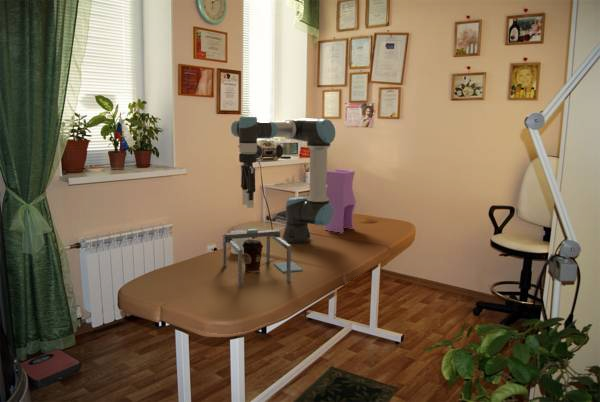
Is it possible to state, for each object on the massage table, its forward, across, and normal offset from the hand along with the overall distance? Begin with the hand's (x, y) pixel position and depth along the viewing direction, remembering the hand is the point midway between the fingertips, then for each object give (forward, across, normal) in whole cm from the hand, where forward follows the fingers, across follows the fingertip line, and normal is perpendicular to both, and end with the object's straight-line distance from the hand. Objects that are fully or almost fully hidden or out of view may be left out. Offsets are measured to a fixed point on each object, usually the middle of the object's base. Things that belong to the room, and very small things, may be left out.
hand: (247, 205), depth 209 cm
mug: (+27, -20, +3) cm, 34 cm away
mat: (+27, +8, +16) cm, 32 cm away
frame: (+27, +11, 0) cm, 29 cm away
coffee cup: (+27, +7, 0) cm, 28 cm away
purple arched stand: (+27, -50, +69) cm, 89 cm away
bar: (+14, +7, 0) cm, 15 cm away
